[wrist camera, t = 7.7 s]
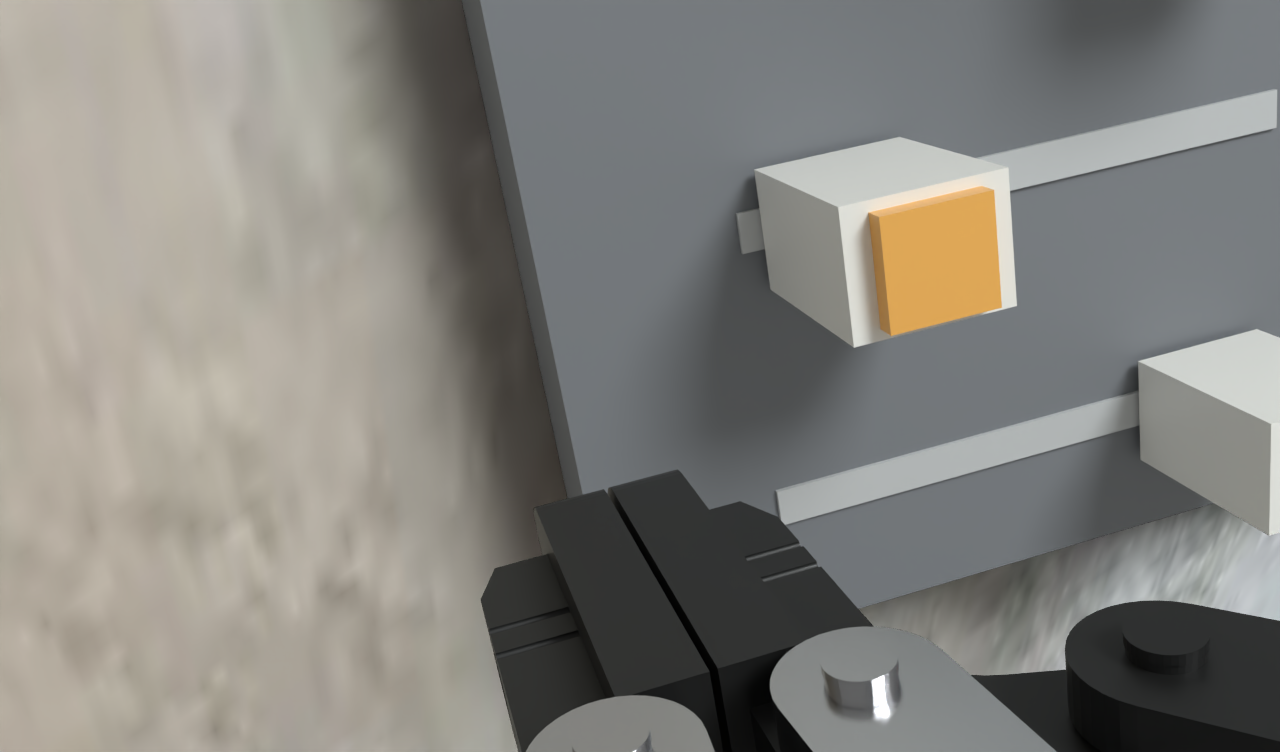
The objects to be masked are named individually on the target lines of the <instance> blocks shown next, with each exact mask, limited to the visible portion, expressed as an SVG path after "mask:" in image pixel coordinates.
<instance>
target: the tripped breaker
mask: <svg viewBox="0 0 1280 752" xmlns="http://www.w3.org/2000/svg"><path fill="white" fill-rule="evenodd" d="M754 172H755V180H756V187H757V194H758V201H759V209H760V216H761V223H762V231H763V238H764V245H765V253H766V260H767V267H768V275H769V282H770V289H771V290H772V291H773V292H775V293H776V294H778V295H779V296H781V297H782V298H783V299H785V300H786V301H788V302H789V303H791V304H792V305H793V306H795V307H796V308H798V309H799V310H801V311H802V312H803V313H805V314H806V315H808V316H809V317H811V318H812V319H814V320H815V321H816V322H818V323H819V324H821V325H822V326H824V327H825V328H826V329H828V330H829V331H831V332H832V333H834V334H835V335H837V336H838V337H839V338H841V339H842V340H844V341H845V342H847V343H848V344H849V345H851V346H852V347H854V348H855V347H859V346H862V345H866V344H870V343H874V342H878V341H882V340H886V339H890V338H894V337H898V336H902V335H905V334H909V333H913V332H917V331H921V330H925V329H929V328H933V327H937V326H941V325H945V324H948V323H952V322H956V321H960V320H964V319H968V318H972V317H976V316H980V315H984V314H987V313H991V312H995V311H999V310H1003V309H1007V308H1011V307H1015V306H1017V299H1016V283H1015V266H1014V250H1013V234H1012V217H1011V201H1010V185H1009V168H1008V167H1005V166H1002V165H998V164H995V163H991V162H987V161H984V160H980V159H977V158H973V157H970V156H966V155H963V154H959V153H955V152H952V151H948V150H945V149H941V148H938V147H934V146H930V145H927V144H923V143H920V142H916V141H913V140H909V139H906V138H902V137H897V138H892V139H888V140H883V141H879V142H874V143H870V144H865V145H861V146H856V147H852V148H848V149H843V150H839V151H834V152H830V153H825V154H821V155H816V156H812V157H807V158H803V159H799V160H794V161H790V162H785V163H781V164H776V165H772V166H767V167H763V168H758V169H754Z"/></svg>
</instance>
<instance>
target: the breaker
mask: <svg viewBox="0 0 1280 752" xmlns="http://www.w3.org/2000/svg"><path fill="white" fill-rule="evenodd" d="M1138 378H1139V420H1140V460H1142V461H1143V462H1145V463H1147V464H1149V465H1150V466H1152V467H1154V468H1155V469H1157V470H1159V471H1160V472H1162V473H1164V474H1165V475H1167V476H1169V477H1171V478H1172V479H1174V480H1176V481H1177V482H1179V483H1181V484H1182V485H1184V486H1186V487H1187V488H1189V489H1191V490H1193V491H1194V492H1196V493H1198V494H1199V495H1201V496H1203V497H1204V498H1206V499H1208V500H1210V501H1211V502H1213V503H1215V504H1216V505H1218V506H1220V507H1221V508H1223V509H1225V510H1226V511H1228V512H1230V513H1232V514H1233V515H1235V516H1237V517H1238V518H1240V519H1242V520H1243V521H1245V522H1247V523H1248V524H1250V525H1252V526H1254V527H1255V528H1257V529H1259V530H1260V531H1262V532H1264V533H1265V534H1267V535H1269V536H1270V535H1273V534H1276V533H1280V338H1279V337H1277V336H1274V335H1271V334H1269V333H1266V332H1263V331H1261V330H1258V329H1255V330H1252V331H1248V332H1244V333H1241V334H1237V335H1233V336H1229V337H1226V338H1222V339H1218V340H1215V341H1211V342H1207V343H1204V344H1200V345H1196V346H1192V347H1189V348H1185V349H1181V350H1178V351H1174V352H1170V353H1166V354H1163V355H1159V356H1155V357H1152V358H1148V359H1144V360H1141V361H1138Z"/></svg>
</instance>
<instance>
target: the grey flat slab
mask: <svg viewBox="0 0 1280 752" xmlns="http://www.w3.org/2000/svg"><path fill="white" fill-rule="evenodd" d="M462 4H463V9H464V14H465V18H466V23H467V28H468V32H469V37H470V42H471V46H472V51H473V56H474V61H475V65H476V70H477V75H478V79H479V84H480V89H481V93H482V98H483V103H484V108H485V112H486V117H487V122H488V126H489V131H490V136H491V140H492V145H493V150H494V155H495V159H496V164H497V169H498V173H499V178H500V183H501V187H502V192H503V197H504V201H505V206H506V211H507V216H508V220H509V225H510V230H511V234H512V239H513V244H514V248H515V253H516V258H517V263H518V267H519V272H520V277H521V281H522V286H523V291H524V295H525V300H526V305H527V310H528V314H529V319H530V324H531V328H532V333H533V338H534V342H535V347H536V352H537V357H538V361H539V366H540V371H541V375H542V380H543V385H544V389H545V394H546V399H547V403H548V408H549V413H550V418H551V422H552V427H553V432H554V436H555V441H556V446H557V450H558V455H559V460H560V465H561V469H562V474H563V479H564V483H565V488H566V493H567V497H568V498H572V497H576V496H580V495H583V494H587V493H591V492H595V491H598V490H602V489H604V490H605V491H606V493H607V494H608V488H609V487H613V486H616V485H620V484H624V483H628V482H632V481H635V480H639V479H643V478H647V477H650V476H654V475H658V474H662V473H665V472H669V471H673V470H677V469H678V470H679V471H680V472H681V473H682V474H683V475H684V477H685V478H686V479H687V481H688V482H689V483H690V485H691V486H692V487H693V489H694V490H695V491H696V493H697V494H698V495H699V497H700V498H701V499H702V501H703V502H704V503H705V505H706V506H707V507H708V509H709V510H710V509H713V508H717V507H721V506H724V505H728V504H732V503H735V502H739V501H741V502H743V503H746V504H748V505H751V506H753V507H756V508H758V509H760V510H763V511H765V512H768V513H770V514H772V515H775V516H777V517H779V519H780V520H781V521H782V522H783V523H784V524H785V525H786V527H787V528H788V529H789V530H790V531H791V532H792V533H793V535H794V536H795V537H796V538H797V539H798V540H799V543H800V546H801V547H802V546H804V547H805V548H806V550H807V551H808V552H809V553H810V554H811V555H812V556H813V558H814V559H815V560H816V561H817V565H818V567H822V568H823V569H824V570H825V571H826V573H827V574H828V575H829V576H830V577H831V578H832V579H833V581H834V582H835V583H836V584H837V585H838V586H839V587H840V589H841V590H842V591H843V592H844V593H845V594H846V595H847V597H848V598H849V599H850V600H851V601H852V602H853V604H854V605H855V606H856V607H857V608H858V609H859V608H863V607H866V606H870V605H873V604H876V603H880V602H883V601H886V600H890V599H893V598H896V597H900V596H903V595H907V594H910V593H913V592H917V591H920V590H923V589H927V588H930V587H933V586H937V585H940V584H944V583H947V582H950V581H954V580H957V579H960V578H964V577H967V576H970V575H974V574H977V573H981V572H984V571H987V570H991V569H994V568H997V567H1001V566H1004V565H1007V564H1011V563H1014V562H1018V561H1021V560H1024V559H1028V558H1031V557H1034V556H1038V555H1041V554H1044V553H1048V552H1051V551H1055V550H1058V549H1061V548H1065V547H1068V546H1071V545H1075V544H1078V543H1081V542H1085V541H1088V540H1092V539H1095V538H1098V537H1102V536H1105V535H1108V534H1112V533H1115V532H1118V531H1122V530H1125V529H1129V528H1132V527H1135V526H1139V525H1142V524H1145V523H1149V522H1152V521H1155V520H1159V519H1162V518H1166V517H1169V516H1172V515H1176V514H1179V513H1182V512H1186V511H1189V510H1192V509H1196V508H1199V507H1203V506H1206V505H1209V504H1213V502H1211V501H1210V500H1208V499H1206V498H1204V497H1203V496H1201V495H1199V494H1198V493H1196V492H1194V491H1193V490H1191V489H1189V488H1187V487H1186V486H1184V485H1182V484H1181V483H1179V482H1177V481H1176V480H1174V479H1172V478H1171V477H1169V476H1167V475H1165V474H1164V473H1162V472H1160V471H1159V470H1157V469H1155V468H1154V467H1152V466H1150V465H1149V464H1147V463H1145V462H1143V461H1142V460H1140V420H1139V378H1138V361H1141V360H1144V359H1148V358H1152V357H1155V356H1159V355H1163V354H1166V353H1170V352H1174V351H1178V350H1181V349H1185V348H1189V347H1192V346H1196V345H1200V344H1204V343H1207V342H1211V341H1215V340H1218V339H1222V338H1226V337H1229V336H1233V335H1237V334H1241V333H1244V332H1248V331H1252V330H1255V329H1258V330H1261V331H1263V332H1266V333H1269V334H1271V335H1274V336H1277V337H1279V338H1280V0H462ZM897 137H902V138H906V139H909V140H913V141H916V142H920V143H923V144H927V145H930V146H934V147H938V148H941V149H945V150H948V151H952V152H955V153H959V154H963V155H966V156H970V157H973V158H977V159H980V160H984V161H987V162H991V163H995V164H998V165H1002V166H1005V167H1008V168H1009V185H1010V201H1011V217H1012V234H1013V250H1014V266H1015V283H1016V299H1017V306H1015V307H1011V308H1007V309H1003V310H999V311H995V312H991V313H987V314H984V315H980V316H976V317H972V318H968V319H964V320H960V321H956V322H952V323H948V324H945V325H941V326H937V327H933V328H929V329H925V330H921V331H917V332H913V333H909V334H905V335H902V336H898V337H894V338H890V339H886V340H882V341H878V342H874V343H870V344H866V345H862V346H859V347H855V348H854V347H852V346H851V345H849V344H848V343H847V342H845V341H844V340H842V339H841V338H839V337H838V336H837V335H835V334H834V333H832V332H831V331H829V330H828V329H826V328H825V327H824V326H822V325H821V324H819V323H818V322H816V321H815V320H814V319H812V318H811V317H809V316H808V315H806V314H805V313H803V312H802V311H801V310H799V309H798V308H796V307H795V306H793V305H792V304H791V303H789V302H788V301H786V300H785V299H783V298H782V297H781V296H779V295H778V294H776V293H775V292H773V291H772V290H771V289H770V282H769V275H768V267H767V260H766V253H765V245H764V238H763V231H762V223H761V216H760V209H759V201H758V194H757V187H756V180H755V172H754V169H758V168H763V167H767V166H772V165H776V164H781V163H785V162H790V161H794V160H799V159H803V158H807V157H812V156H816V155H821V154H825V153H830V152H834V151H839V150H843V149H848V148H852V147H856V146H861V145H865V144H870V143H874V142H879V141H883V140H888V139H892V138H897Z"/></svg>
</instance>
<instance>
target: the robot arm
mask: <svg viewBox="0 0 1280 752" xmlns="http://www.w3.org/2000/svg"><path fill="white" fill-rule="evenodd" d="M534 517H535V523H536V528H537V533H538V538H539V542H540V547H541V551H542V556H539V557H535V558H531V559H528V560H524V561H520V562H517V563H513V564H509V565H506V566H502V567H498V568H495V569H494V572H493V574H492V576H491V578H490V580H489V582H488V585H487V587H486V589H485V591H484V593H483V596H482V598H481V603H482V607H483V611H484V615H485V619H486V624H487V628H488V632H489V636H490V640H491V644H492V648H493V652H494V656H495V660H496V664H497V668H498V672H499V677H500V681H501V685H502V689H503V693H504V697H505V701H506V705H507V709H508V713H509V717H510V721H511V725H512V730H513V733H514V737H515V741H516V745H517V748H518V752H1280V621H1277V620H1272V619H1267V618H1262V617H1256V616H1251V615H1246V614H1241V613H1236V612H1230V611H1225V610H1220V609H1215V608H1209V607H1204V606H1199V605H1194V604H1188V603H1181V602H1173V601H1138V602H1129V603H1123V604H1119V605H1114V606H1110V607H1107V608H1104V609H1102V610H1099V611H1096V612H1094V613H1093V614H1091V615H1089V616H1087V617H1085V618H1084V619H1083V620H1081V621H1080V622H1079V623H1077V624H1076V626H1075V627H1074V628H1073V629H1072V630H1071V631H1070V633H1069V635H1068V637H1067V640H1066V646H1065V658H1066V670H1057V671H1045V672H1033V673H1021V674H1009V675H990V676H981V675H970V674H969V673H968V672H966V671H965V670H964V669H963V668H962V667H961V666H960V665H959V664H957V663H956V662H955V661H954V660H953V659H952V658H951V657H950V656H949V655H947V654H946V653H945V652H944V651H943V650H942V649H941V648H939V647H938V646H936V645H935V644H934V643H932V642H931V641H929V640H927V639H925V638H923V637H921V636H919V635H916V634H913V633H910V632H907V631H903V630H898V629H894V628H886V627H874V626H873V625H872V624H871V623H870V622H869V621H868V620H867V618H866V617H865V616H864V615H863V614H862V613H861V612H860V610H859V609H858V608H857V607H856V606H855V605H854V604H853V602H852V601H851V600H850V599H849V598H848V597H847V595H846V594H845V593H844V592H843V591H842V590H841V589H840V587H839V586H838V585H837V584H836V583H835V582H834V581H833V579H832V578H831V577H830V576H829V575H828V574H827V573H826V571H825V570H824V569H823V568H822V567H818V565H817V561H816V560H815V559H814V558H813V556H812V555H811V554H810V553H809V552H808V551H807V550H806V548H805V547H804V546H802V547H801V546H800V543H799V540H798V539H797V538H796V537H795V536H794V535H793V533H792V532H791V531H790V530H789V529H788V528H787V527H786V525H785V524H784V523H783V522H782V521H781V520H780V519H779V517H777V516H775V515H772V514H770V513H768V512H765V511H763V510H760V509H758V508H756V507H753V506H751V505H748V504H746V503H743V502H741V501H739V502H735V503H732V504H728V505H724V506H721V507H717V508H713V509H710V510H709V509H708V507H707V506H706V505H705V503H704V502H703V501H702V499H701V498H700V497H699V495H698V494H697V493H696V491H695V490H694V489H693V487H692V486H691V485H690V483H689V482H688V481H687V479H686V478H685V477H684V475H683V474H682V473H681V472H680V471H679V470H678V469H677V470H673V471H669V472H665V473H662V474H658V475H654V476H650V477H647V478H643V479H639V480H635V481H632V482H628V483H624V484H620V485H616V486H613V487H609V488H608V494H607V493H606V491H605V490H604V489H602V490H598V491H595V492H591V493H587V494H583V495H580V496H576V497H572V498H568V499H565V500H561V501H557V502H553V503H550V504H546V505H542V506H538V507H534Z"/></svg>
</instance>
